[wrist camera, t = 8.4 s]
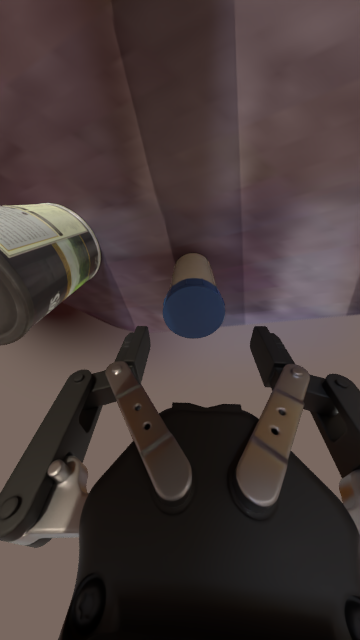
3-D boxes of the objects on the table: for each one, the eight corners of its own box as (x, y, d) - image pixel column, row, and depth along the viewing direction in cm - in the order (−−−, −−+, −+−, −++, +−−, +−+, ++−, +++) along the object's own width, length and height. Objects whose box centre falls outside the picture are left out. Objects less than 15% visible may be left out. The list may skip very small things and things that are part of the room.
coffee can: (116, 265, 26) (56, 322, 14) (63, 292, 29) (-23, 359, 17) (62, 183, 21) (-103, 167, 9) (4, 226, 23) (-177, 257, 12)
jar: (166, 265, 25) (153, 302, 17) (200, 244, 24) (206, 273, 15) (185, 295, 28) (183, 341, 19) (217, 279, 26) (232, 320, 17)
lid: (218, 327, 20) (221, 339, 18) (166, 327, 20) (164, 338, 19) (225, 277, 17) (229, 286, 15) (163, 277, 17) (160, 285, 15)
